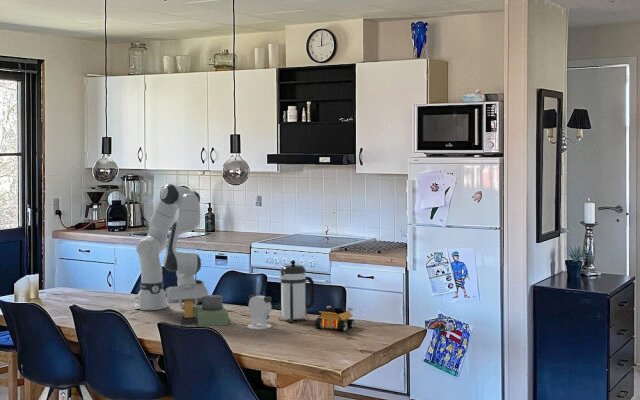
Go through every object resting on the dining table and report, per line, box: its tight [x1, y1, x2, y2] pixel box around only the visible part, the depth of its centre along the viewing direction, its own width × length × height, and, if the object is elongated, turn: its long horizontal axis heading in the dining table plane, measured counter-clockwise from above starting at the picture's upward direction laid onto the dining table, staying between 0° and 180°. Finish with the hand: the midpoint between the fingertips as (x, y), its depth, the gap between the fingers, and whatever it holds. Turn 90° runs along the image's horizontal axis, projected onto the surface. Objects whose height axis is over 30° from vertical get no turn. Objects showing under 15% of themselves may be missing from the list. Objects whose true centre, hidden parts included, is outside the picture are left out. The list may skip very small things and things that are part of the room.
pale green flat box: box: [179, 294, 229, 327], centre depth 415 cm, size 24×22×12 cm
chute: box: [183, 300, 194, 318], centre depth 413 cm, size 4×4×8 cm
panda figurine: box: [247, 293, 273, 330], centre depth 401 cm, size 12×11×15 cm
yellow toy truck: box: [314, 305, 356, 332], centre depth 396 cm, size 15×15×11 cm
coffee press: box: [278, 259, 315, 324], centre depth 416 cm, size 17×16×30 cm
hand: (188, 308), depth 413 cm, fingers closed on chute, 4 cm apart
